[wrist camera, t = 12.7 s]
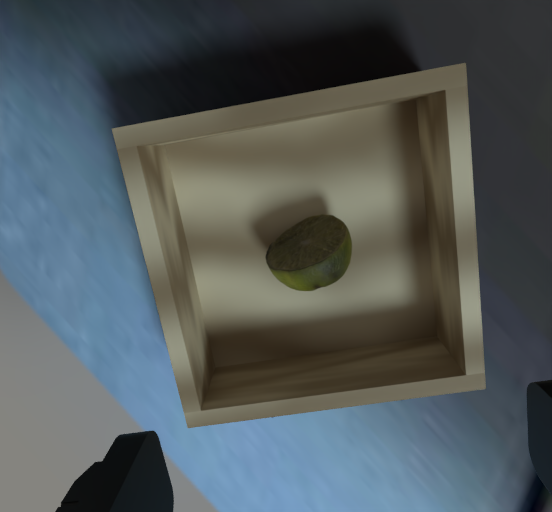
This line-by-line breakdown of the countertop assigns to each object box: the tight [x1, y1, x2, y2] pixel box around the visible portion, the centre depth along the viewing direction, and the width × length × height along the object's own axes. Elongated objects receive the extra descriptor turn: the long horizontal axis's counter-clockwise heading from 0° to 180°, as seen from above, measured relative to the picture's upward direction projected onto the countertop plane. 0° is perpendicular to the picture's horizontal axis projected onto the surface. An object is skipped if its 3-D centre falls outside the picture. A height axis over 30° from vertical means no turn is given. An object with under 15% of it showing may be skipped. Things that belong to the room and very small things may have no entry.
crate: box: [112, 63, 486, 428], centre depth 26 cm, size 17×17×6 cm
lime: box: [265, 214, 352, 291], centre depth 25 cm, size 4×5×5 cm
